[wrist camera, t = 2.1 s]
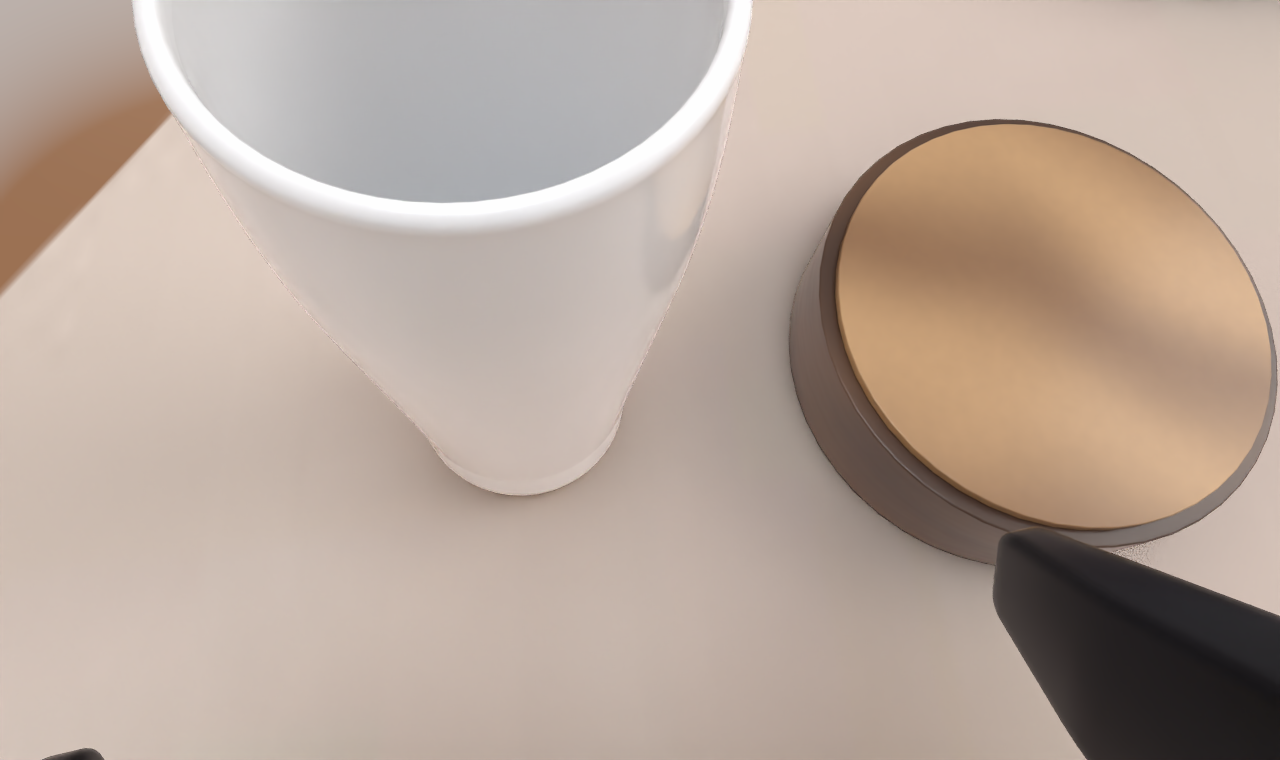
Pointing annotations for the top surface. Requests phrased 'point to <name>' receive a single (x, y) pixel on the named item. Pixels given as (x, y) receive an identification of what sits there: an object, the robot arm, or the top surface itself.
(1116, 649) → the robot arm
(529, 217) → the white tumbler
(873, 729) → the top surface
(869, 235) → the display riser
